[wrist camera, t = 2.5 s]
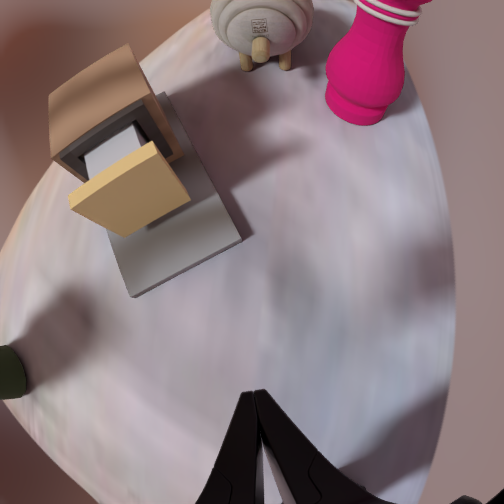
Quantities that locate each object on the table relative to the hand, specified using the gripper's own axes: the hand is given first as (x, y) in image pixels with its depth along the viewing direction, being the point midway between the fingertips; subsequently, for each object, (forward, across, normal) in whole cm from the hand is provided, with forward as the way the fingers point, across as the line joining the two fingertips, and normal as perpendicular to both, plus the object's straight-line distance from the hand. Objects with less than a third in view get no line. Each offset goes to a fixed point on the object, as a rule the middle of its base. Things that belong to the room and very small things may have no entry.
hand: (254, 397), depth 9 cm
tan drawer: (+17, +7, -8) cm, 20 cm away
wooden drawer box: (+19, +7, -6) cm, 21 cm away
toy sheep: (+26, -6, -20) cm, 33 cm away
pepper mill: (+20, -14, -12) cm, 27 cm away
